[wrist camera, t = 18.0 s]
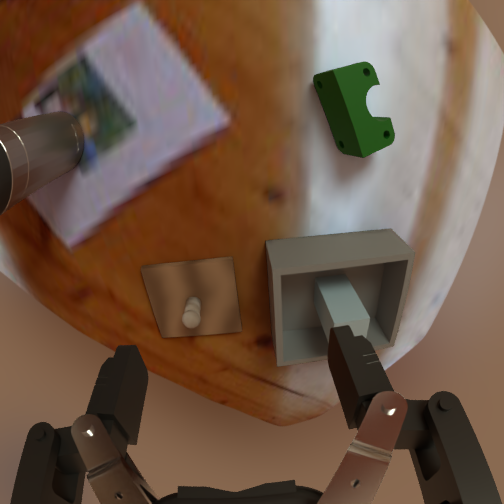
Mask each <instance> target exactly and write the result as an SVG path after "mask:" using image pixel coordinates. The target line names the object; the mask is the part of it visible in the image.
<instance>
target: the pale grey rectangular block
mask: <svg viewBox="0 0 504 504" xmlns="http://www.w3.org/2000/svg"><path fill="white" fill-rule="evenodd" d="M314 305H315V308H316V310H317V313H318V316H319V319H320V321H321V324H322V327H323V330H324V332H325V335H326V338H327V341H328V343H329V334H330V329H331V328H332V327H339V326H345V325H349V326H350V328H351V330H352V332H353V334H354V336H360V335H363V336H364V337H365V338H366V336H367V331H368V327H369V322H370V317H369V315H368V313H367V311H366V309H365V308H364V306H363V304H362V302H361V300H360V299H359V297H358V295H357V293H356V292H355V290H354V288H353V286H352V285H351V283H350V281H349V279H348V278H347V276H346V274H342V275H333V276H324V277H316V278H315V289H314Z"/></svg>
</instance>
